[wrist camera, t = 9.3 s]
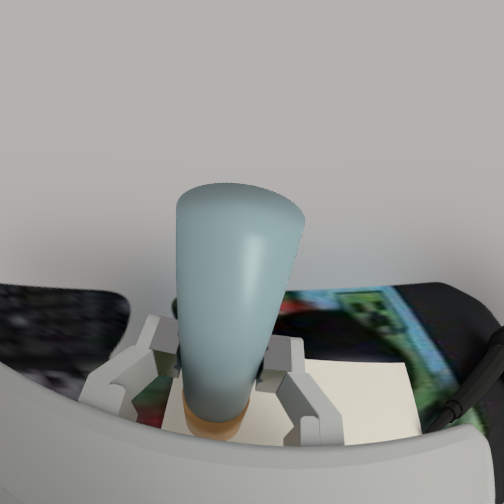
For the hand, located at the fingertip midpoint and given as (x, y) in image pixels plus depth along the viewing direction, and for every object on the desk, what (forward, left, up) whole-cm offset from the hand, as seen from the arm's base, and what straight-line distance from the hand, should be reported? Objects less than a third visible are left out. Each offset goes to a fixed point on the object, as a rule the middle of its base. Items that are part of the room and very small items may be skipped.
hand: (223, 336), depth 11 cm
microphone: (+26, +3, -10) cm, 28 cm away
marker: (0, -1, -7) cm, 7 cm away
